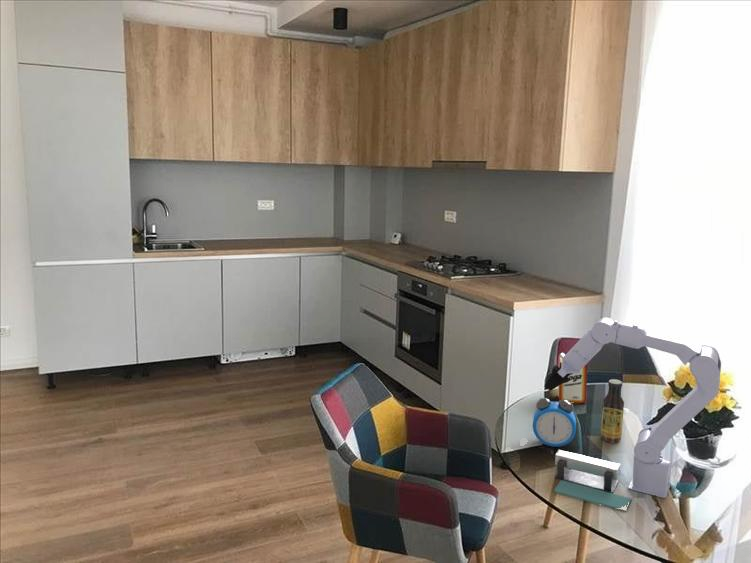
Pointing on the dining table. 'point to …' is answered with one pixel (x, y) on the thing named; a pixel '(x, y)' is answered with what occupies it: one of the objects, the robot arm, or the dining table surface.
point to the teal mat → (591, 494)
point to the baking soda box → (574, 386)
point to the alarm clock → (554, 422)
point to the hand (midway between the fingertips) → (551, 384)
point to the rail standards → (586, 478)
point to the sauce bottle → (612, 413)
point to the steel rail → (587, 464)
